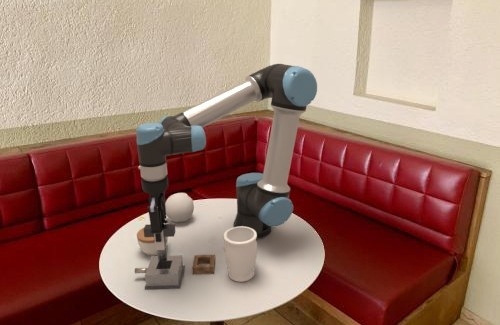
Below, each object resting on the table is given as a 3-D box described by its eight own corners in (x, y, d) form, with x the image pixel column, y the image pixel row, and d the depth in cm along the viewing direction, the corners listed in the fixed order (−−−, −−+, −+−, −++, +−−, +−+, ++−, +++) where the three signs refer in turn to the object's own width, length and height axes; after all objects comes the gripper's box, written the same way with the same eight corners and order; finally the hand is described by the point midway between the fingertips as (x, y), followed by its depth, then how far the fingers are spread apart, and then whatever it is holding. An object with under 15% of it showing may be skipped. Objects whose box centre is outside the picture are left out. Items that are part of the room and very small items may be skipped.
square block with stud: (185, 266, 128) (184, 254, 126) (180, 288, 117) (178, 275, 116) (140, 268, 127) (138, 255, 126) (131, 289, 117) (129, 276, 115)
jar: (246, 288, 117) (245, 247, 111) (219, 277, 122) (216, 237, 117) (263, 270, 125) (263, 231, 120) (237, 261, 130) (236, 222, 125)
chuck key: (177, 256, 121) (174, 224, 117) (176, 261, 119) (173, 228, 114) (149, 257, 121) (145, 224, 117) (147, 262, 118) (143, 229, 114)
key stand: (215, 260, 131) (214, 254, 130) (213, 273, 124) (213, 267, 123) (195, 261, 130) (194, 255, 130) (192, 274, 124) (192, 267, 123)
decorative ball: (200, 219, 158) (199, 193, 154) (178, 230, 150) (175, 203, 146) (182, 210, 166) (180, 186, 162) (160, 221, 157) (157, 195, 153)
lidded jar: (162, 261, 131) (159, 237, 128) (133, 257, 133) (130, 234, 130) (174, 244, 141) (171, 222, 138) (147, 241, 143) (144, 219, 140)
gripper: (147, 167, 117) (154, 233, 125) (134, 187, 102) (143, 261, 111) (171, 166, 118) (177, 232, 126) (161, 187, 103) (169, 260, 111)
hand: (161, 245), depth 118 cm, fingers closed on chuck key, 3 cm apart
